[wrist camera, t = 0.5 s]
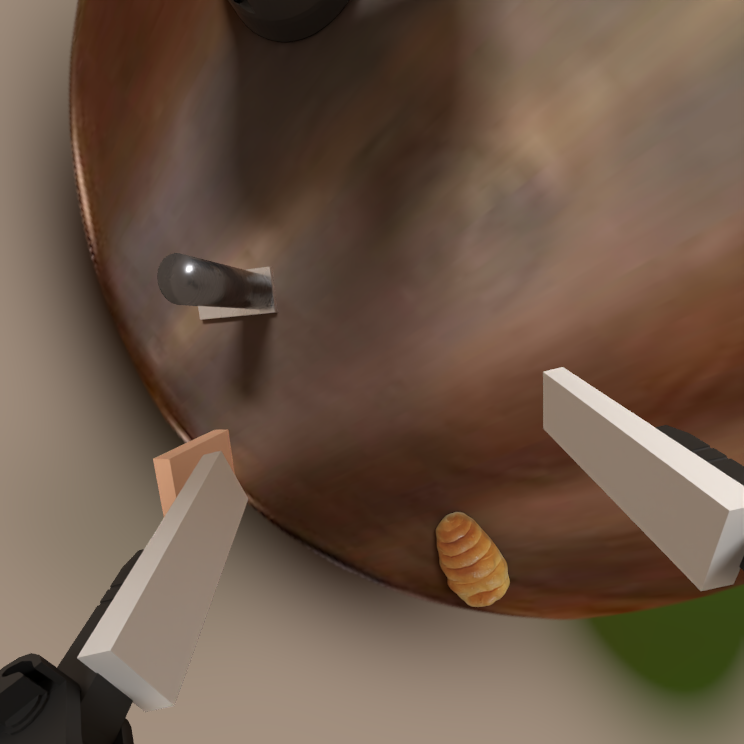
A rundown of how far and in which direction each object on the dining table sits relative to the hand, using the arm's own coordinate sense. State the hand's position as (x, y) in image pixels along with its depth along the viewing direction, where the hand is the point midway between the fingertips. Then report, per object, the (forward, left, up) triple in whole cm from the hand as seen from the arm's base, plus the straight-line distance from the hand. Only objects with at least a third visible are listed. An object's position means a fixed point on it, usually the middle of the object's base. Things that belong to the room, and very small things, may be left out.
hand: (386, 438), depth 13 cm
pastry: (+22, +4, -22) cm, 31 cm away
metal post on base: (-9, -21, -22) cm, 32 cm away
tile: (+11, -26, -22) cm, 35 cm away
